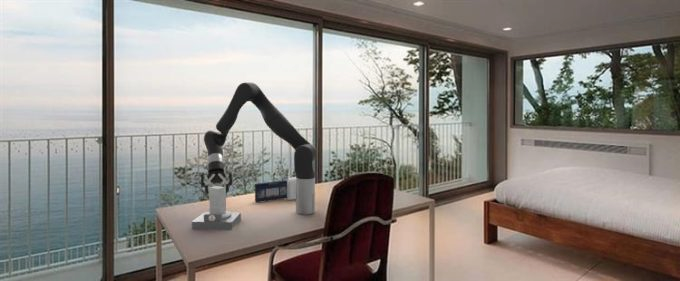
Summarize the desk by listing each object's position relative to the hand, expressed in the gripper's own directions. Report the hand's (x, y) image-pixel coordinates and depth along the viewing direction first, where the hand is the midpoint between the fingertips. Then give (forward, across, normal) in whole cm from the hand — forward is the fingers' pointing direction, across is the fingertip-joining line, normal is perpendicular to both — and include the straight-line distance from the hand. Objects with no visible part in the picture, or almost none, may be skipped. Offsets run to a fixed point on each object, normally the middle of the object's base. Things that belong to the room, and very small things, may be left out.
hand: (217, 192), depth 177 cm
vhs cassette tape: (-8, +29, +24) cm, 39 cm away
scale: (+16, 0, 0) cm, 16 cm away
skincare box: (+12, 0, -1) cm, 12 cm away
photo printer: (-7, +42, +23) cm, 49 cm away
